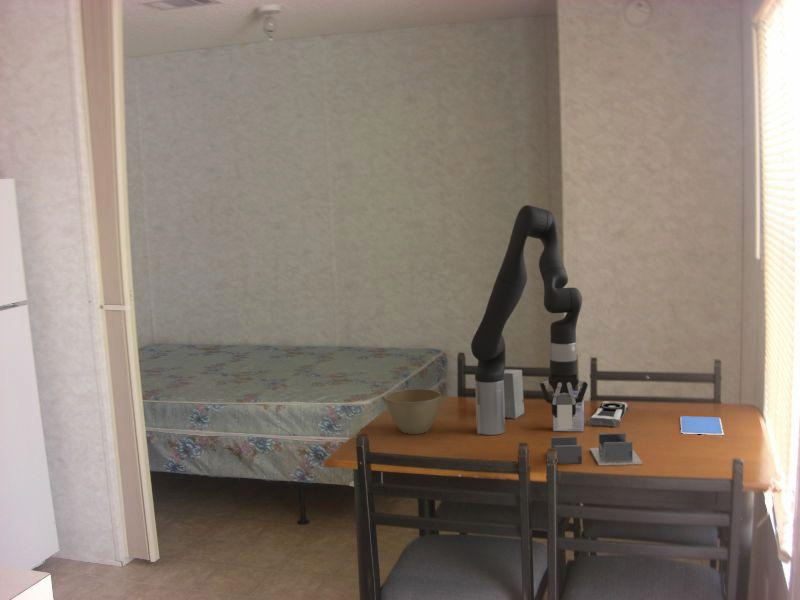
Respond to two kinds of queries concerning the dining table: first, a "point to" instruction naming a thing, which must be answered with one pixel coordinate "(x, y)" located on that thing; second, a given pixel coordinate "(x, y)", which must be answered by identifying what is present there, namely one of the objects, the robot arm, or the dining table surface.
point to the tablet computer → (701, 425)
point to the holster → (567, 449)
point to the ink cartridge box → (574, 417)
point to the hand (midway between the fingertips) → (563, 416)
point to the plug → (564, 411)
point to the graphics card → (609, 414)
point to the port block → (615, 450)
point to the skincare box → (513, 393)
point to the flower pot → (414, 409)
